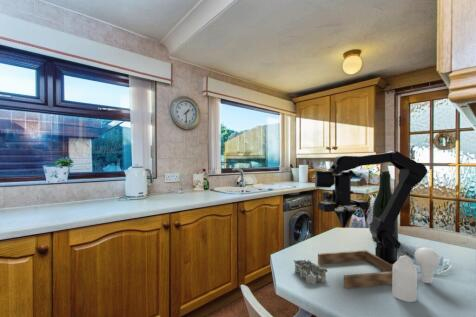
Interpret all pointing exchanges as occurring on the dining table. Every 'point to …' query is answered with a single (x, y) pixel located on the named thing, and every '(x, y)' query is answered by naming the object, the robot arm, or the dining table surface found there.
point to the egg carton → (304, 271)
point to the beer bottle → (383, 199)
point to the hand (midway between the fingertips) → (343, 227)
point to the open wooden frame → (360, 279)
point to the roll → (404, 279)
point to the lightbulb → (427, 262)
